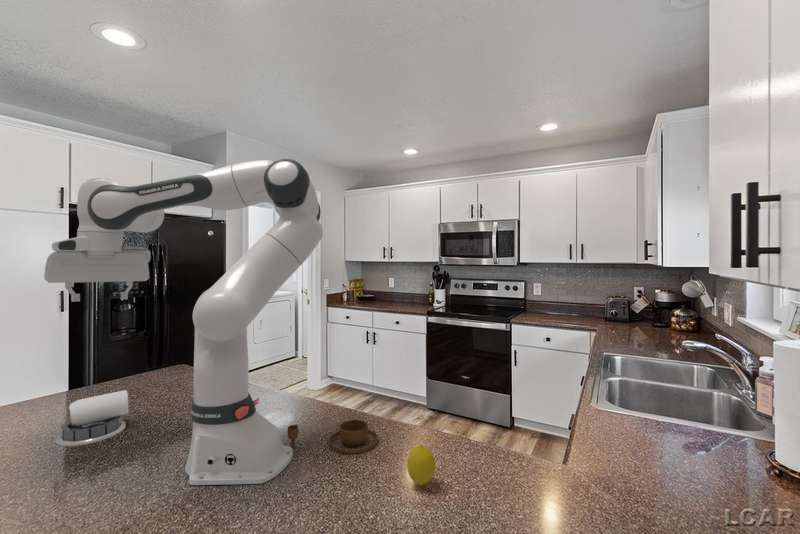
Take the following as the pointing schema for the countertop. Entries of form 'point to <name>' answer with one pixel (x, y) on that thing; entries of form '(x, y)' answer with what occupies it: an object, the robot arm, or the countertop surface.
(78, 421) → the can
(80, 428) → the notched rim bowl
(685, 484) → the countertop surface
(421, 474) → the lemon
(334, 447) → the place setting
